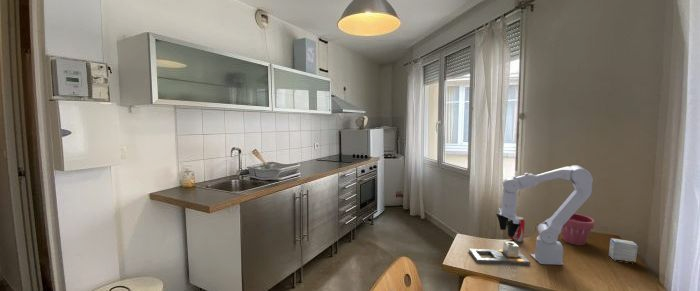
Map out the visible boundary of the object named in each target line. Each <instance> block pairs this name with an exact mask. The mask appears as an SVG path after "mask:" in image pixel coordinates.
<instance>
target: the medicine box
mask: <svg viewBox="0 0 700 291" xmlns="http://www.w3.org/2000/svg"><path fill="white" fill-rule="evenodd" d="M609 239H610V241H609V249H608V250H609V251H608V257H609V256H610V257H611V258H612V259H614V260H613V261H616V260H625V261H634V262H637V255H638V249H639V245H637V243H635V242H634V241H632V240H625V239H619V238H612V237H611V238H609ZM610 257H609V258H610ZM611 258H610V259H611ZM612 259H611V260H612Z"/></svg>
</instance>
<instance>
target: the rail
mask: <svg viewBox="0 0 700 291" xmlns="http://www.w3.org/2000/svg"><path fill="white" fill-rule="evenodd" d="M468 253H469V254H470V255H471V256H472V258H473V259H474V260H475V262H476V264H493V265H494V264H495V265H514V266H516V265H517V266H519V265H520V266H530V265H531V261H530V260H529V259H528V258H526V256H525V255H523V254H522V253H521V252H520V251H518V259H507V258H506V257H505V256H504V255H503V249H489V248H485V249H484V248H469V249H468ZM480 255H490V256H491V257H482V256H480Z"/></svg>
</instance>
